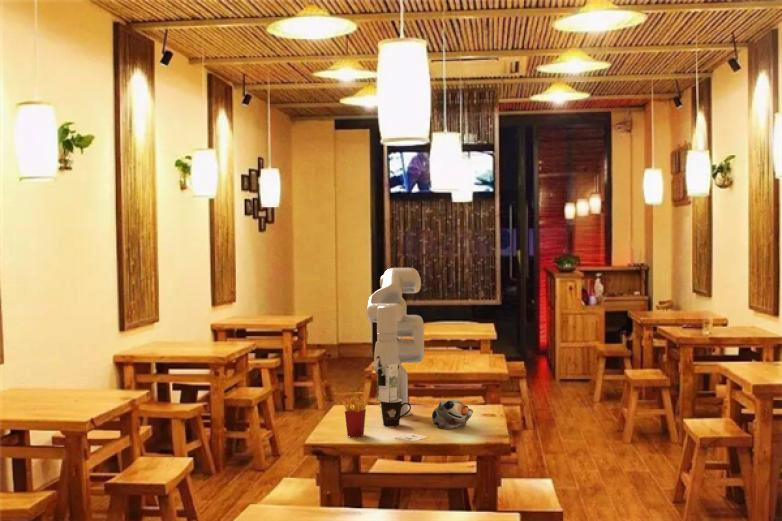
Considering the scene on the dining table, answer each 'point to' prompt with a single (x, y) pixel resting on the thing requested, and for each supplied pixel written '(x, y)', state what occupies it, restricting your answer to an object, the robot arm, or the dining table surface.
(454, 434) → the dining table surface
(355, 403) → the french fries
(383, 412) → the coffee mug
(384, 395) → the syrup box
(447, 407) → the lucky cat figurine
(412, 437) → the tile
